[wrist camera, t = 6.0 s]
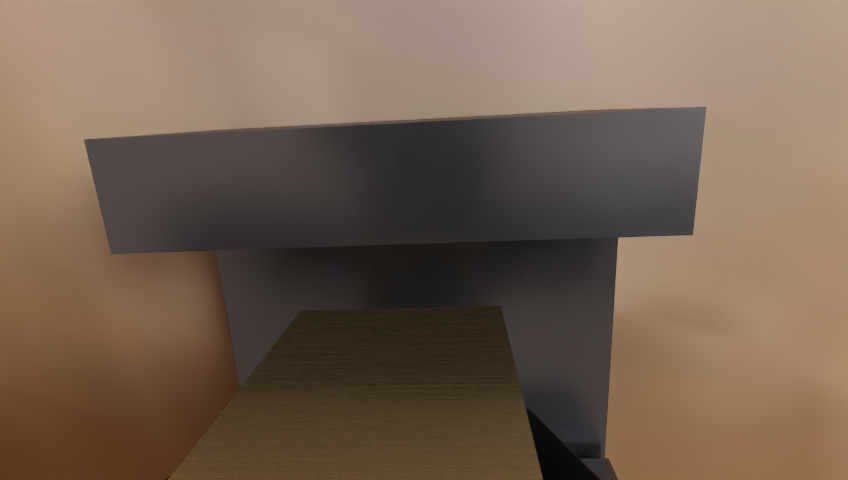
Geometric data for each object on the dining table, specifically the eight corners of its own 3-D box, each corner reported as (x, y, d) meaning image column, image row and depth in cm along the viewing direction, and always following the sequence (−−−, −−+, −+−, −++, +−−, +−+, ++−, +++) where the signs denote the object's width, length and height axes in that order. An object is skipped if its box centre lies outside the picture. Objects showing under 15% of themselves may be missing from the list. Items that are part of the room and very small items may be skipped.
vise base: (588, 503, 15) (646, 675, 10) (280, 500, 15) (208, 659, 11) (608, 109, 11) (706, 107, 7) (219, 129, 12) (84, 139, 8)
